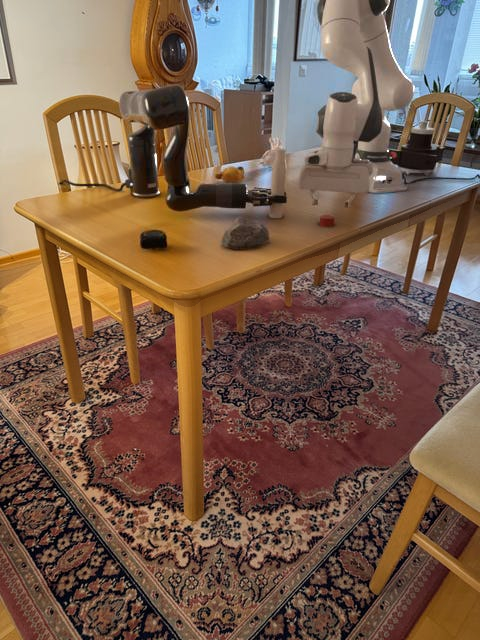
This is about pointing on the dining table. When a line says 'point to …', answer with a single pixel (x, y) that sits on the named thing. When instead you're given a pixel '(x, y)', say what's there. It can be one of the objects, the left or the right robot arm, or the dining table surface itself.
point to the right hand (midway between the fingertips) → (330, 205)
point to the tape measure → (153, 239)
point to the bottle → (278, 182)
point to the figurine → (270, 154)
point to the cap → (326, 220)
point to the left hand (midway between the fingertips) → (285, 197)
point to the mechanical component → (418, 152)
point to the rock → (245, 234)
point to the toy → (231, 174)
